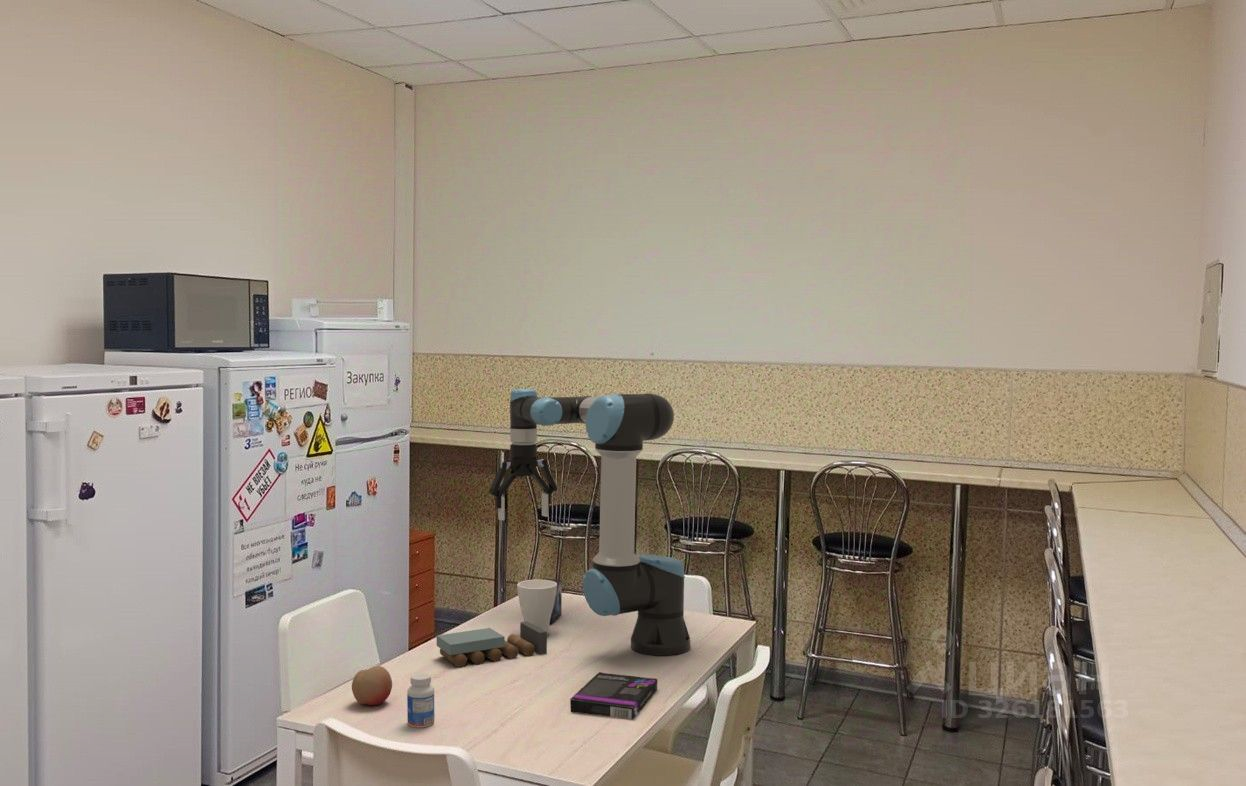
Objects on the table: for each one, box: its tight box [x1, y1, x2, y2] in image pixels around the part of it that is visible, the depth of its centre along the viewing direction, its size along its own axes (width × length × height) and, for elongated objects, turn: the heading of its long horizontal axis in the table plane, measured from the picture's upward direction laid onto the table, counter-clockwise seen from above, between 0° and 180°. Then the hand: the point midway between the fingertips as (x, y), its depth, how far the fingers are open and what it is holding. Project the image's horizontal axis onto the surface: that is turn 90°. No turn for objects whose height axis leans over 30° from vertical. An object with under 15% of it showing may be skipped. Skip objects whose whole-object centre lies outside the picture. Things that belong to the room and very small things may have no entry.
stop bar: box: [519, 621, 548, 656], centre depth 261 cm, size 11×2×6 cm, turn 31°
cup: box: [516, 579, 557, 636], centre depth 273 cm, size 10×10×14 cm
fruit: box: [351, 665, 393, 707], centre depth 220 cm, size 8×8×8 cm
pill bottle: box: [406, 672, 436, 729], centre depth 209 cm, size 6×5×10 cm
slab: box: [436, 627, 506, 655], centre depth 252 cm, size 9×14×2 cm, turn 121°
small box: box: [540, 577, 563, 626], centre depth 288 cm, size 11×6×10 cm, turn 168°
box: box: [569, 671, 658, 720], centre depth 223 cm, size 14×4×20 cm
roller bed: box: [439, 633, 536, 668], centre depth 254 cm, size 10×21×3 cm, turn 121°
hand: (523, 518), depth 294 cm, fingers open, 13 cm apart
